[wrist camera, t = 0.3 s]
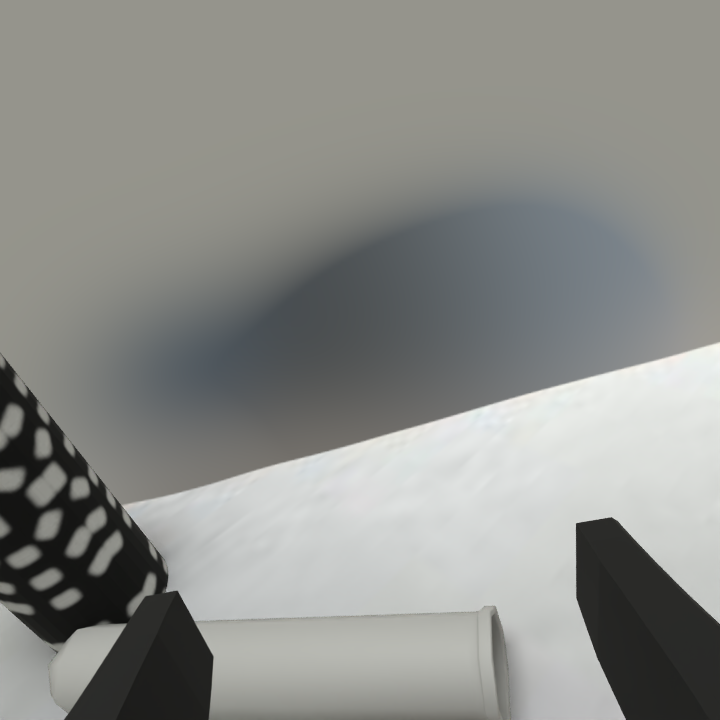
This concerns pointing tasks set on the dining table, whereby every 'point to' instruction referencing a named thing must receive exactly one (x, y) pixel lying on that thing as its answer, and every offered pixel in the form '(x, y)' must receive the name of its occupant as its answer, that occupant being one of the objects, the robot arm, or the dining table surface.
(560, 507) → the dining table surface
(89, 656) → the tube
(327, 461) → the dining table surface
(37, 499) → the white-spotted black cylinder
